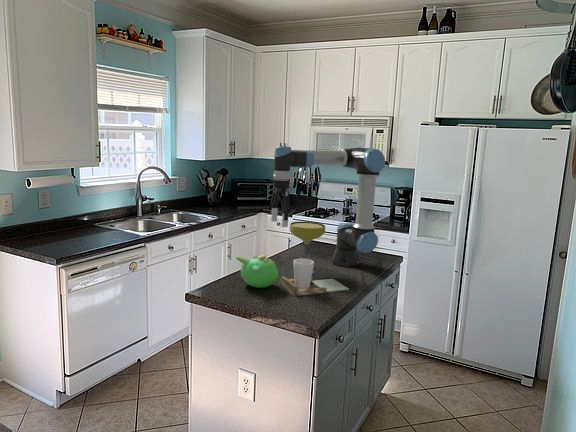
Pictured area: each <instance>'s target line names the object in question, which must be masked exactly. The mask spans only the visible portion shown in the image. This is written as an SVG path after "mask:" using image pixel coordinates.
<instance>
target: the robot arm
mask: <svg viewBox="0 0 576 432" xmlns="http://www.w3.org/2000/svg"><path fill="white" fill-rule="evenodd" d="M273 157H274V159H273V160H274V163H273V167H274V169H273V173H272V174H273V183H272V186H273V191H272V195H271V200H270V204H269V205H270V207H271V219H270V220H271V221H270V222H272V223H273V222H275V223H276V222H278V211H279V206H278V205H279V204H280V203H281V208H282V212H281V214H282V215H281V216H282V218H281V228H288V227H289V214H290V213H292V209H291V208H292V207H291V201H290V191H287V189H289V188H290V179H291V168H312V167H313V166H338V167H340V168H350V169H353V170H356V175H357V176H358V189H357V191H358V192H357V200H356V202H357V203H356V212H355V222H341V223H338V225H337V229H336V231H337V232H336V246H335V251H334V252H333V256H332V258H331V263H332V264H333V265H335V266H339V267H346V268H351V267H350V266H355V267H357V266H356V265H358V264H359V265H360V257H359V254H358V252H360V253H363V254H368V253H371V252H373V251H374V249H376V247H377V245H378V243H379V237H378V235H377V233H375V225H373V218H374V217H373V216H374V206H375V196H376V195H375V193H376V182H377V178H378V177H379V176H380V173H381V171H383V169H384V168H385V165H386V159H385V155H384V153H383V152H382V151H381V150H379V149H378V148H372V147H368V148H367V147H352V148H341V149H339V150H320V149H319V150H318V149H317V150H311V149H309V150H307V149H305V150H304V149H303V150H301V149H298V150H297V149H292V147H291V146H284V145H283V146H282V145H281V146H280V145H277V146H276V147H275V148H274V155H273ZM359 265H358V266H359Z"/></svg>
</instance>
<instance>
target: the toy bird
mask: <svg viewBox="0 0 576 432" xmlns="http://www.w3.org/2000/svg"><path fill="white" fill-rule="evenodd" d="M235 260H237V261H239V262H240V263H241V264H242V265H241V267H240V275H241V278H242V279H243V282H245V283H246V284H247V285H249V286H250V287H254V288H259V289H260V288H261V289H263V288H264V289H265V288H267V287H270V286H272V285H273V284H274V283H275V282H276V281H277V279H278V277H279V269H278V266H277V264H276V263H275V262H274V261H273V260H272V259H270V258H268V257H267V254H263V255H258V256H251V257H249V258H245V257H242V256H235Z"/></svg>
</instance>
